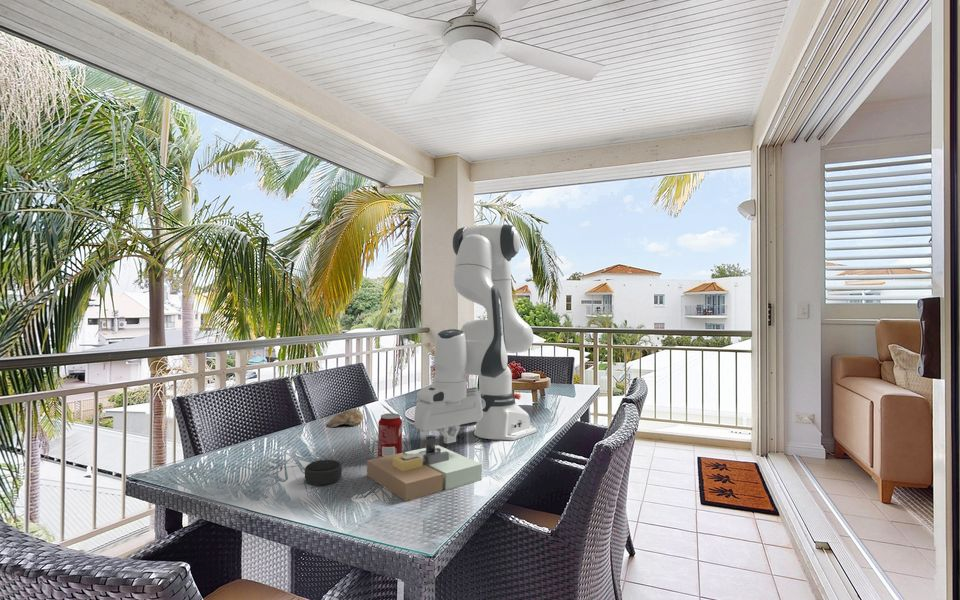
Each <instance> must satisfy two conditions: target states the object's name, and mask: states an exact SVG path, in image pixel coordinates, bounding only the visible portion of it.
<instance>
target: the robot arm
mask: <svg viewBox="0 0 960 600" xmlns="http://www.w3.org/2000/svg"><path fill="white" fill-rule="evenodd" d="M520 246H521V236H520V233H519V230H518V228H517V227H515V225H512V224H511V225H510V224H503V225H502V224H483V225H475V226H470V227H469V226H463V227H460V228H458V229H457V230H456V231H455V232H454V234H453V236H452V249H453V252H454V254H455V255H456V259H455V263H454V264H455V265H454V271H453V285H454V288H455V290H456V291H457V293H458V294H459V295H460V296H462V297H463V298H465V299H466V300H469V301H470V302H473V303H475V304H476V305H477V304H478V305H480V306H482V307H483V308H484V309H485V311H486V319H475V320H471V321H466V322H465V323H464V324H463V325H462V327H461V328H460V329H455V328H451V329H445V330H442V331H439V332H438V333H437V334H436V337H435V342H434V353H433V365H434V369H435V370H434V371H435V372H434V376H433V383H431V384H430V385H427V386H426V387H424V388H422V389H420V390H419V391H417V392H416V398H417V399H418V401H417V403H416V404H415V409H414V422H413V423H414V427H415V428H416V429H417V430H418V431H420V432H423V433H425V432H431V431H434V430H439V432H441V434H442V436H443V443H444V444H451V443H456V442H457V435H458V433H459V432H460V428H461V425H466V424H470V423H476V425H475V429H474V432H473V434H474V435H475V437H478V438H480V439H488V440H503V441H516V440H519V439H521V438H524V437H526V436H530V435H532V434H535V433H537V432H538V429H537V427H535V426H533V425H532V424H531V419H530V415H529V413H528V412H527V411H526V410H524V409H523V408H522V407H521V406H520V405H518V404H517V403H516V400H519V401H520V400H521V398H522V395H521V393H516V392H515V393H513V392H512V391H513V390H512V389H513V388H512V385H513V384H512V382H513V381H512V380H513V377H512V376H513V374H512V370H511V369H510V367H509V366H508V362H509V361H508V360H509V359H508V354H509V353H510V354H516V353H522V352H527V351H528V350H529V349H530V348H531V347H532V346H533V341H534V331H533V329H532V327H531V325H530V324H529V323H527V322H526V321H525V320H524V319H523V317H522V318H521V316H520V314H519V313H518V312H517V309H516V307H515V305H514V300H513V291H512V268H511V260H512V258H515V257H516V256H517V254H518V253H519V250H520ZM467 375H472V376H478V382H479V383H478V384H479V385H478V387H479V388H477V387H475V386H472V387H468V386H467V385H468V384H467V383H468V382H467V381H468V378H467ZM467 387H468V388H467ZM449 428H452V429H451V432H450V434H449V433H448V431H449Z"/></svg>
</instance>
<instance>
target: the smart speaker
mask: <svg viewBox="0 0 960 600" xmlns="http://www.w3.org/2000/svg"><path fill="white" fill-rule="evenodd" d="M342 468H343V467H342V464H341V462H339V461H337V460H334V459H323V460H321V459H320V460H316V461H312V462H310V463H308V464H307V465H306V466H305V468H304V481H305V482H306V483H307V484H309V485H313V486H327V485H331V484H334V483H336V482H338V481H340V479H342V475H343V474H342V473H343V472H342Z"/></svg>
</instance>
